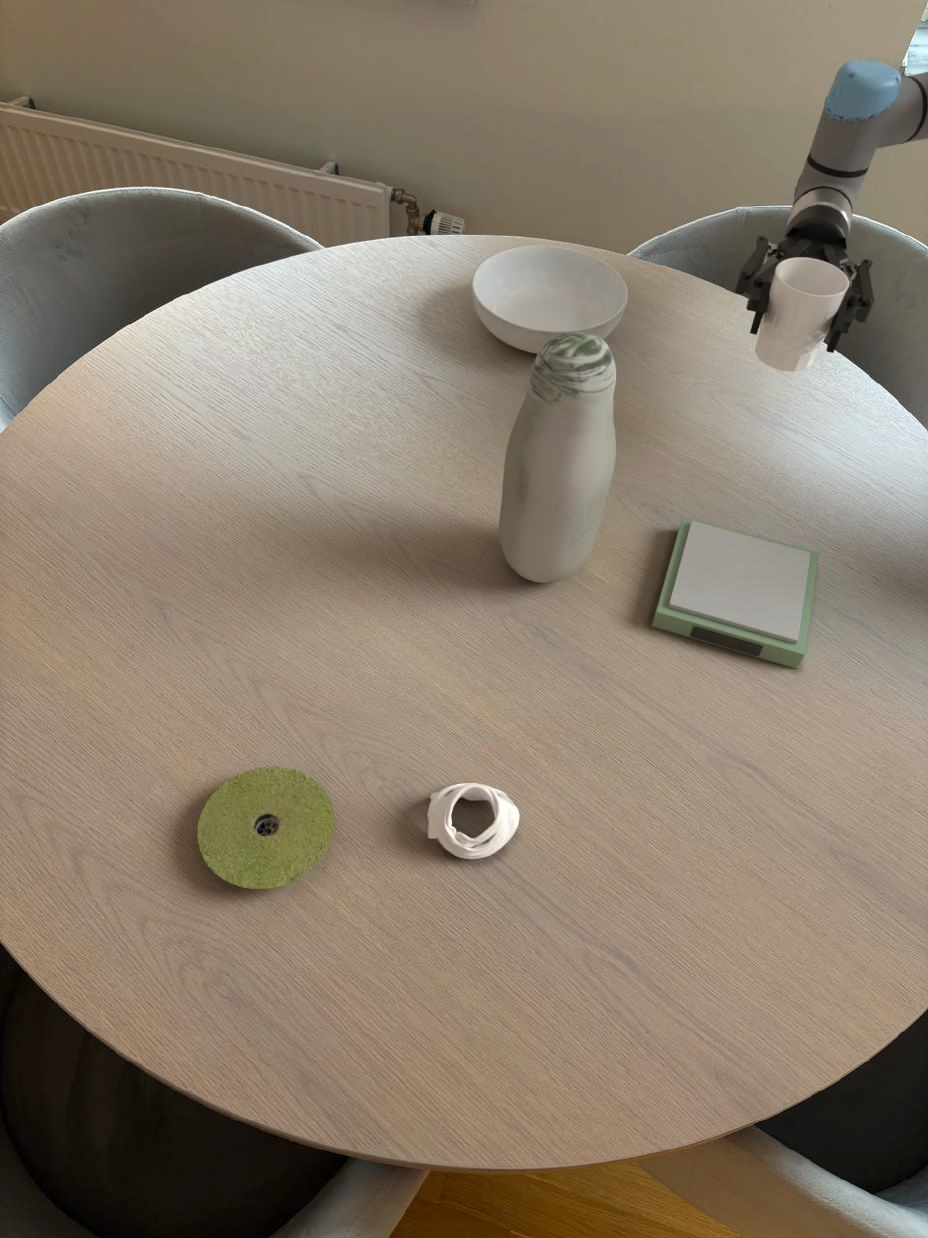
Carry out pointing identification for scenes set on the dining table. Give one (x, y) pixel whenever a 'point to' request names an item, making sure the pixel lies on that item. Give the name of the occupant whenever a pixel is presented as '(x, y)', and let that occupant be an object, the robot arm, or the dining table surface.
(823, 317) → the white cup
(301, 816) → the green abrasive disc
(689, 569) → the kitchen scale
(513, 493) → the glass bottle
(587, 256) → the serving bowl
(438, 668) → the dining table surface
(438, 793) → the white rolled strap
